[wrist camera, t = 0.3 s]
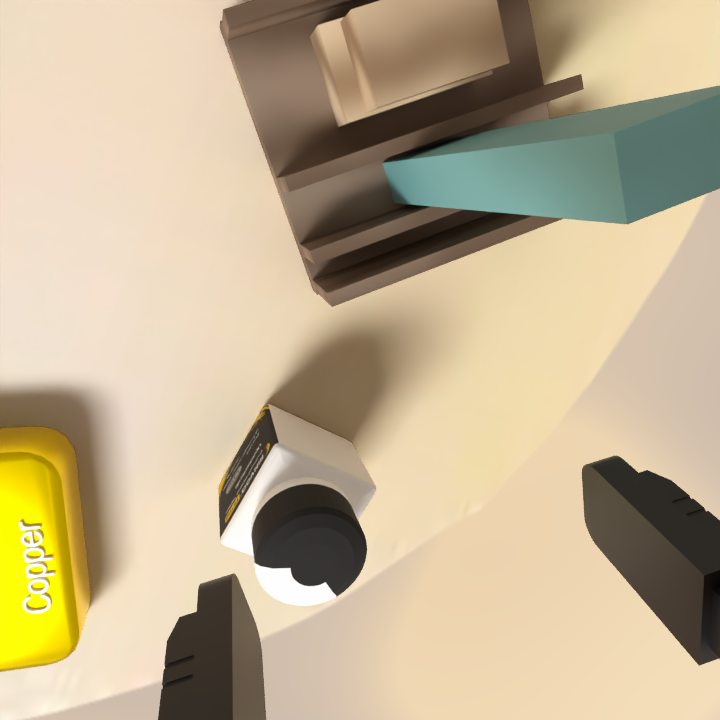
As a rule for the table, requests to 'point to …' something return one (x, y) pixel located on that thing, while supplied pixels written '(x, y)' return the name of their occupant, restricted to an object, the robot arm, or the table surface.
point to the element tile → (40, 549)
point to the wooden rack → (373, 147)
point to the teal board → (575, 163)
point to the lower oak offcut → (352, 76)
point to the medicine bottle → (296, 508)
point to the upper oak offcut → (421, 46)
